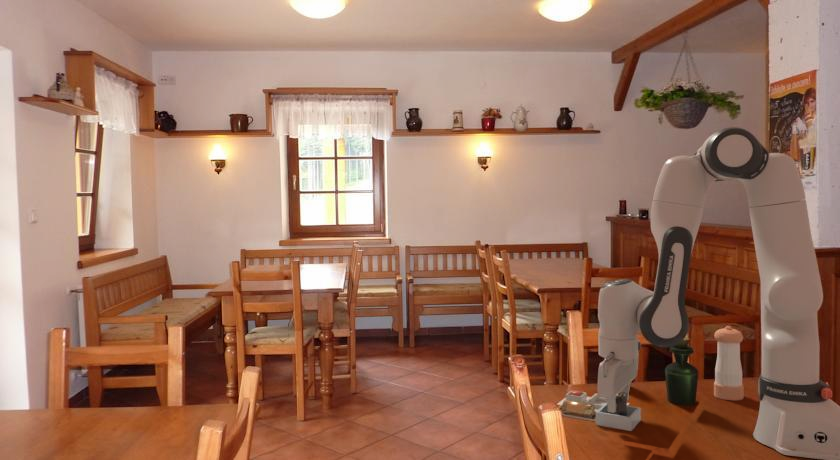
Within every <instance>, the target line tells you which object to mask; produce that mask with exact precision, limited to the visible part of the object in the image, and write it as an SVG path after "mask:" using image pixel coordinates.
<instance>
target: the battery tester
mask: <svg viewBox="0 0 840 460" xmlns="http://www.w3.org/2000/svg"><path fill="white" fill-rule="evenodd" d="M571 391H574V390H570V391H568V392H567V393H565V397H564V398H563V399H562V400H560V401H559V402H558V403H556V405H557V406H560V405H562V404H563V402H564V400H570V401H576V402H582V403H588V404H593V405H594V407H595V411H598V410H599V409H600V408H601V407H602V406H603V405H604V404H605V403H606V399H605V397H601V396H599V394H598V392H597V393H594V394H593V395H592V396H588V394H587V392H584V391H581V392H582V395H581V396H574V395H571ZM630 404H631V403H630V402H627V406H630Z"/></svg>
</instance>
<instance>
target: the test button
mask: <svg viewBox="0 0 840 460" xmlns="http://www.w3.org/2000/svg"><path fill="white" fill-rule="evenodd" d="M570 391H571V390H570ZM582 392H583V391H581V390H578V389H577V390H576V389H575V390H573V391H571V395H574V396H581V395H582Z"/></svg>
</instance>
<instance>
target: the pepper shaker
mask: <svg viewBox="0 0 840 460" xmlns="http://www.w3.org/2000/svg"><path fill="white" fill-rule="evenodd" d="M714 339H715V341H717V345H716V346H717V348H716V349H717V351H716V352H717V353H716V354H717V355H716V362H715V366H714V367H715V368H714V379H715V380H714V382H713V395H714V397H715V398H718V399H721V400H725V401H726V400H727V401H742V400H743V399H744V398H745V396H744V395H745V393H744V392H745V391H744V390H745V389H744V384H743V369H742V368H743V367H742V362H741V345H740V344H741V343H742V341H743V339H744V336H743V333H742V332H741V331H740V330H737V329H735V328H732V326H730V325H726V326H725V327H724V328H719V329H717V330H716V331H715V332H714Z"/></svg>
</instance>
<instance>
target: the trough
mask: <svg viewBox="0 0 840 460" xmlns="http://www.w3.org/2000/svg"><path fill="white" fill-rule="evenodd" d="M558 407H559V408H560V409H559V410H562V405H558ZM595 414H596V411H595ZM562 415H563V416H562V417H566V418H572V419H577V420H578V419H579V420H585V421H589V422H595V423H596V416H595V417H594V418H585V417H579V416H574V415H568V414H563V413H562Z"/></svg>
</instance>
